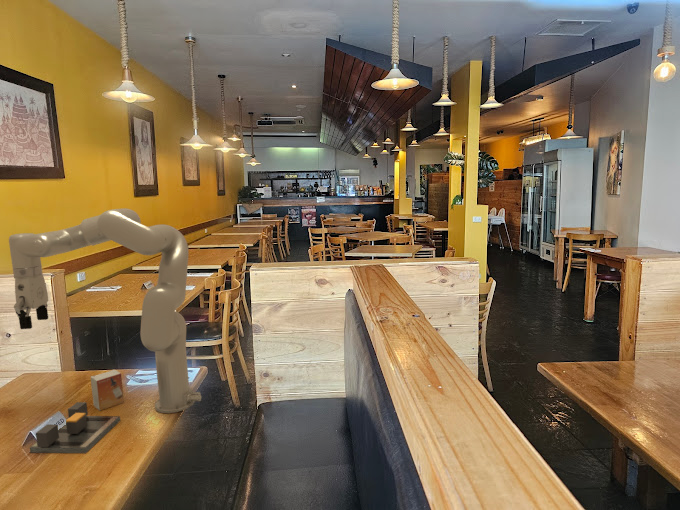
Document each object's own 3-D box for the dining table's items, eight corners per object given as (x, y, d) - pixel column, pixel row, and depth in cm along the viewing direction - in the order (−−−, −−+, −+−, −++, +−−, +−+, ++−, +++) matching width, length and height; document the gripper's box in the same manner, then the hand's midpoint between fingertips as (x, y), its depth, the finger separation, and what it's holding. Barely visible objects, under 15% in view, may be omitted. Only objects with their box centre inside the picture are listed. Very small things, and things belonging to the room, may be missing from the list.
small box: (99, 411, 143) (95, 381, 141) (93, 406, 147) (89, 376, 145) (124, 402, 149) (121, 373, 147) (118, 397, 152) (115, 368, 151)
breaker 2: (87, 414, 137) (86, 402, 137) (78, 421, 133) (77, 409, 132) (78, 414, 137) (77, 402, 137) (69, 421, 133) (67, 409, 132)
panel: (120, 420, 137) (119, 415, 136) (85, 453, 120) (85, 447, 120) (71, 420, 138) (70, 415, 137) (30, 452, 121) (29, 447, 121)
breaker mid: (87, 425, 130) (85, 412, 130) (77, 433, 126) (75, 420, 125) (77, 425, 131) (75, 412, 130) (67, 433, 126) (65, 420, 126)
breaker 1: (59, 437, 124) (57, 424, 124) (47, 446, 120) (46, 433, 119) (49, 437, 125) (47, 424, 124) (37, 446, 120) (35, 433, 120)
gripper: (25, 276, 131) (32, 331, 134) (54, 266, 148) (60, 315, 151) (-2, 278, 130) (6, 333, 133) (30, 268, 147) (36, 317, 150)
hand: (34, 323), depth 142 cm, fingers open, 9 cm apart
